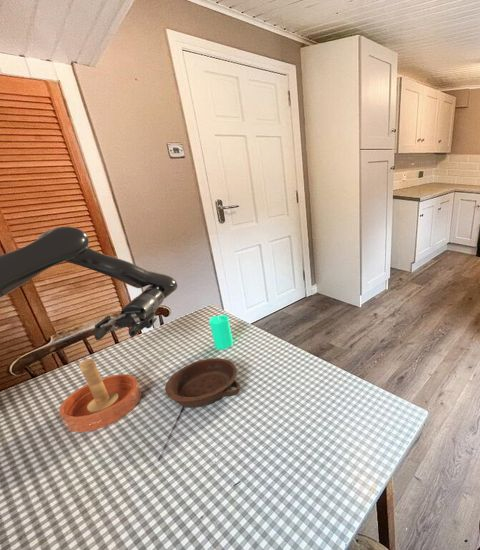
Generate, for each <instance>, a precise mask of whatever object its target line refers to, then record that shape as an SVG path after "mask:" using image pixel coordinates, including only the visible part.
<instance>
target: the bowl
mask: <svg viewBox="0 0 480 550" xmlns="http://www.w3.org/2000/svg"><path fill="white" fill-rule="evenodd" d="M101 378H102V381H103V383H104V385H105V388H106V390H107V393H111V392H114V393H117V394H118V395H119V398H120V400H121V401H119V402H118V403H116V404H114V405H113V406H111V407H109V408H107V409H105V410H103V411H100V412H97V413H94V414H91V415H90V413H89V411H88V409H87V406H88V404H89V403H90V402H91V401H92V400H93V399H94V398H93V396H92V393H91V391H90V389H89V387H88V384H87V383H86V384H85V385H83V386H82V387H79V388H78V389H77V390H75V391H74V392H72V393H71V394H70V395H68V396H67V397H66V398H65V399H64V401H63V402H62V403H61V404H60V407H59V409H58V413H59V417H60V418H61V420H62V422H63V424H64V426H65V428H66V429H67V430H69V431H70V432H73V433H85V432H93V431H95V430H98V429H102V428H105V427H107V426H109V425H111V424H114V423H115V422H117V421H119V420H120V419H122V418H124V417H125V416H126V415H128V414H129V413H130V412H131V411H133V410H134V408H136V407H137V405H138V404H139V403H140V401H141V399H142V394H143V393H142V389H141V387H140V385H139V382H138V380H137V377H135V376H133V375H131V374H125V373H120V374H112V375H108V376H104V377H101Z"/></svg>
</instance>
